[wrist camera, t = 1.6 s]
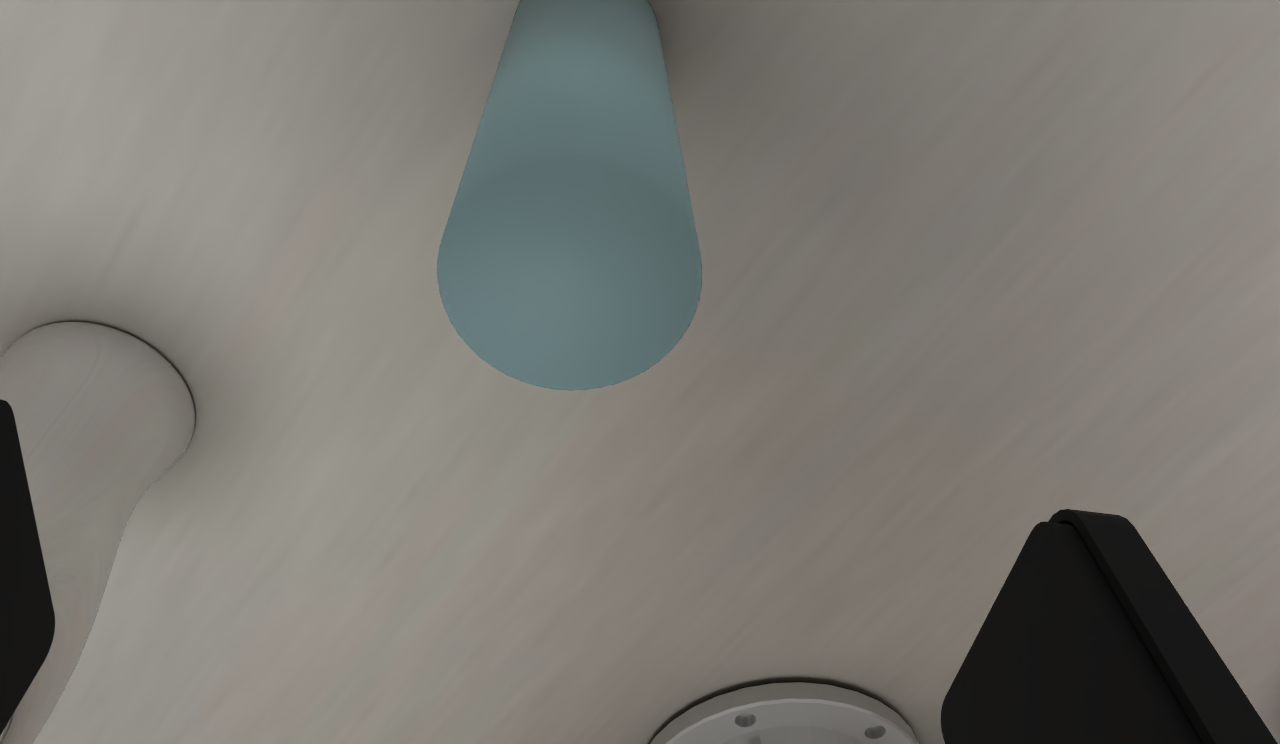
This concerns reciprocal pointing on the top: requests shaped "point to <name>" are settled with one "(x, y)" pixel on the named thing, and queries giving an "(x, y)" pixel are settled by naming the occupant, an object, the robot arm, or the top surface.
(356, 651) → the top surface
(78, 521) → the beer glass
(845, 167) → the top surface
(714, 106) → the top surface
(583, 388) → the peg
